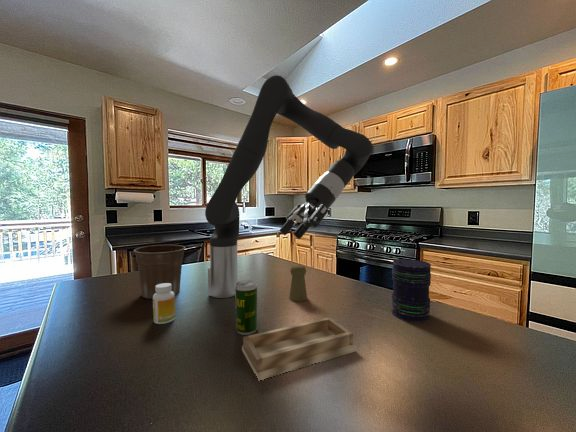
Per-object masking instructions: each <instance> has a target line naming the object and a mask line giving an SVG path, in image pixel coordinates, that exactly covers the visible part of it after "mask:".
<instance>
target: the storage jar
mask: <svg viewBox="0 0 576 432" xmlns="http://www.w3.org/2000/svg"><path fill="white" fill-rule="evenodd" d="M392 265H393V266H392V270H391V271H392V273H391V274H392V277H391V278H392V282H393V284H392V286H393V287H392V293H391V307H392V310H391V314H392V315H393V316H394V317H395V318H397V319H399V320H400V321H401V320H402V321H405V322H409V323H419V324H420V323H421V324H422V323H425V322H426V323H427V322H428V321H429V320H430V310H431V298H430V286H431V284H432V282H431V279H432V273H431V268H432V267H431V266H432V265H431V263H430V262H427V261H424V260H419V259H410V258H409V259H408V258H400V259H398V258H397V259H394V260H392Z"/></svg>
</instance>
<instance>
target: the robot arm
mask: <svg viewBox="0 0 576 432" xmlns="http://www.w3.org/2000/svg"><path fill="white" fill-rule="evenodd" d="M277 114H278V115H279V116H282V117H283V118H286V119H288V120H290V121H292V122H293V123H295V124H297V125H298V126H300V127H301V128H302V129H304V130H305V131H306V132H308V133H309V134H310V135H311V136H313V137H314V138H316V139H317V140H318V141H319V142H321V143H322V144H323V145H325V146H327V147H328V148H330V149H332V150H336V149H338V148H339V147H340V148H343V149H345V152H344V153H343V155H342V156H341V158H340V159H339V160H336V161H334V162H333V163H332V164H331V165H330V166H329V168H328V169H327V170H326V171H324V173H323V174H322V175H321V176H320V177H319V178H318V179H317V180H316V181H315V182H314V184H313V185H311V187H310V188H309V189H308V191H306V193H305V196H304V197H305V202H304V203H302V204H301V203H297V205H295V206H294V208H293V209H291V211H290V212H289V213H288V214H287V215H286V216H285V219H286V222H285V223H284V224H283V225H282V226H281V227H280V228H279V233H281V234H282V235H283V236H287V234H288V233H289V232H290V231H291V229H292V228H293V227H294V226H295V225H297V224H298V223H299V226H298V227H296V229H295V230H294V231H293V233H292V234H293V236H294V237H295V238H296V239H297V240H300V239H302V237H303V236H304V235H305V234H306V233H307V231H308V230H309V229H312V228H317V227H318V226H319V224H320V223H321V222H322V220H324V218H325V216H326V215H327V214H328V212H329V208H331V206H332V205H333V203H335V201H336V200H337V199H338V197H339V196H340V195H341V194H342V192H343V191H344V189H345V188H346V187H347V185H348V184H349V183H350V181H352V179H353V177H354V176H355V175H357V173H358V172H360V170H362V169H363V167H364V166H365V164H366V163H367V162H368V160H369V158H370V157H371V154H372V153H373V150H374V146H373V142H372V141H371V140H370V139H369V138H368V137H367V136H366V135H364V134H362V133H360V132H357V131H354V130H351V129H348V128H345V127H343V126H342V125H341V124H339V123H337V122H336V121H334V120H333V119H331V118H330V117H329V116H327V115H325V114H324V113H321V112H318V111H316V110H314V109H313V108H311V107H309V106H307V105H306V104H304V103H303V102H302V101H301V100H300V99H299V98H298V97H297V96H296V95H295V94H294V93H293V90H292V89H291V87H290V85H289V83H288V82H287V80H286V79H285V78H284V77H283V76H281V75H278V74H275V75H272V76H269V77H268V78H267V79H266V80H265V81H264V83H263V84H262V86H261V87H260V90H259V92H258V95H257V99H256V102H255V104H254V106H253V110H252V113H251V115H250V118H249V120H248V122H247V124H246V126H245V128H244V130H243V133H242V135H241V137H240V139H239V141H238V143H237V145H236V148H235V149H234V151H233V154H232V156H231V158H230V161H229V163H228V164H227V167H226V169H225V171H224V173H223V176H222V178H221V180H220V182H219V185H218V186H217V188H216V189H215V191H214V192H213V194H212V196H211V198H210V199H209V200H208V202H207V204H206V207H205V211H204V216H205V219H206V221H207V222H208V224H209V225H211V226H214V230H213V233H212V234H211V236H210V238H209V263H210V264H209V265H210V266H209V267H208V268H207V284H208V285H207V288H208V289H207V294H208V296H209V297H213V298H215V299H216V298H217V299H227V298H231V297H235V287H236V283H237V282H239V281H238V278H239V277H238V276H239V275H238V272H239V271H238V270H239V269H238V266H239V265H238V238H239V234H240V208H239V206H238V204H237V203H236V201H237V199H238V196H239V194H240V192H241V191H242V190H243V188H244V187H245V186H246V185H247V184H248V183H249V181H250V180H251V179H252V178H253V176H254V175H255V174H256V173H257V171H258V169H259V167H260V166H261V163H262V161H263V159H264V157H265V154H266V152H267V148H268V142H269V135H270V130H271V126H272V124H273V121H274V120H275V118H276V116H277Z"/></svg>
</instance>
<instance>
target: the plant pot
mask: <svg viewBox="0 0 576 432" xmlns="http://www.w3.org/2000/svg"><path fill="white" fill-rule="evenodd" d="M185 250H186V246H184V245H179V244H157V245H156V244H155V245H146V246H142V247H137V248H135V249H133V253H135V254H134V255H135V259H136V262H135V263H137V269H138V277H139V283H140V286H139V287H140V294H141V297H142V298H145V299H148V300H153V295H154V294H155V293H157V292H156V291H155V286H156V285H158V284H162V283H170V284H171V285H172V289H171V291H173V292H174V295H175V296H176V295H178V294H179V293H180V292H181V280H182V267H183V260H184V255H185Z"/></svg>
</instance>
